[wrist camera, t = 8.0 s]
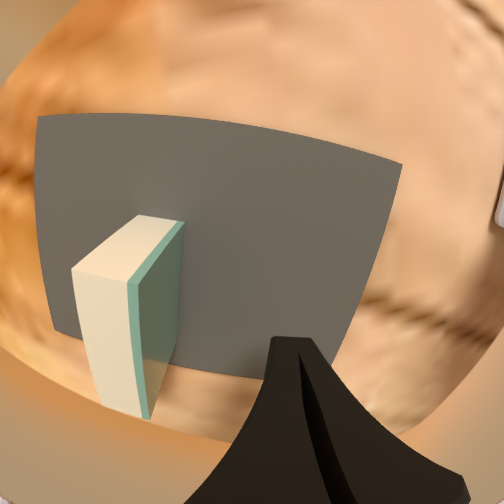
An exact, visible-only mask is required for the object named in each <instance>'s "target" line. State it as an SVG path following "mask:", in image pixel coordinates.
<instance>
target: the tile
mask: <svg viewBox="0 0 504 504" xmlns="http://www.w3.org/2000/svg"><path fill="white" fill-rule="evenodd" d="M184 226H185V222H181V221H175V220H168V219H162V218H156V217H149V216H143V215H137V216H136V217H135V218H133V219H132V220H131V221H129V222H128V223H127V224H126V225H124V226H123V227H122V228H120V229H119V230H118V231H116V232H115V233H114V234H113V235H111V236H110V237H109V238H108V239H106V240H105V241H104V242H103V243H101V244H100V245H99V246H98V247H97V248H95V249H94V250H93V251H92V252H90V253H89V254H88V255H87V256H86V257H85V258H83V259H82V260H81V261H80V262H79V263H78V264H76V265H75V266H74V267H73V268H72V269H71V271H72V279H73V286H74V293H75V300H76V306H77V311H78V317H79V322H80V327H81V332H82V336H83V341H84V345H85V349H86V353H87V357H88V361H89V365H90V368H91V372H92V375H93V379H94V382H95V385H96V389H97V392H98V395H99V398H100V401H101V404H102V406H105V407H108V408H111V409H114V410H117V411H120V412H123V413H127V414H130V415H133V416H137V417H140V418H144V419H148V420H150V419H151V415H152V412H153V409H154V406H155V403H156V400H157V397H158V394H159V391H160V388H161V384H162V381H163V378H164V375H165V373H166V370H167V367H168V364H169V361H170V358H171V355H172V352H173V349H174V346H175V343H176V341H177V326H178V304H179V287H180V272H181V259H182V247H183V236H184Z"/></svg>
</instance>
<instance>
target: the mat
mask: <svg viewBox="0 0 504 504" xmlns="http://www.w3.org/2000/svg"><path fill="white" fill-rule="evenodd" d="M402 165H403V164H400V163H397V162H394V161H391V160H388V159H385V158H382V157H379V156H376V155H373V154H370V153H366V152H363V151H360V150H356V149H353V148H349V147H346V146H342V145H338V144H335V143H331V142H327V141H323V140H319V139H315V138H311V137H306V136H302V135H297V134H293V133H288V132H283V131H278V130H273V129H268V128H262V127H257V126H251V125H245V124H238V123H232V122H225V121H217V120H209V119H200V118H191V117H180V116H168V115H152V114H127V113H88V114H64V115H49V116H38V121H37V131H36V145H35V171H34V187H35V213H36V227H37V237H38V246H39V254H40V261H41V268H42V274H43V280H44V285H45V291H46V296H47V300H48V305H49V309H50V313H51V318H52V322H53V325H54V329H55V330H56V331H58V332H61V333H64V334H67V335H69V336H72V337H75V338H78V339H81V340H83V336H82V332H81V327H80V322H79V317H78V311H77V306H76V300H75V293H74V286H73V279H72V271H71V269H72V268H73V267H74V266H75V265H76V264H78V263H79V262H80V261H81V260H82V259H83V258H85V257H86V256H87V255H88V254H89V253H90V252H92V251H93V250H94V249H95V248H97V247H98V246H99V245H100V244H101V243H103V242H104V241H105V240H106V239H108V238H109V237H110V236H111V235H113V234H114V233H115V232H116V231H118V230H119V229H120V228H122V227H123V226H124V225H126V224H127V223H128V222H129V221H131V220H132V219H133V218H135V217H136V216H137V215H143V216H149V217H156V218H162V219H168V220H175V221H181V222H185V226H184V236H183V247H182V259H181V272H180V287H179V304H178V326H177V341H176V343H175V346H174V349H173V352H172V355H171V358H170V361H169V364H173V365H177V366H182V367H187V368H192V369H197V370H203V371H209V372H214V373H220V374H227V375H233V376H240V377H248V378H256V379H264V373H265V368H266V363H267V357H268V352H269V346H270V341H271V338H272V337H274V336H286V337H307V338H312V340H313V341H314V342H315V344H316V345H317V347H318V348H319V350H320V351H321V353H322V354H323V356H324V357H325V359H326V360H327V362H328V363H329V364H330V366H331V365H332V363H333V361H334V358H335V356H336V354H337V352H338V350H339V348H340V346H341V343H342V341H343V339H344V337H345V335H346V332H347V330H348V328H349V325H350V323H351V321H352V318H353V316H354V314H355V311H356V309H357V306H358V304H359V301H360V299H361V296H362V294H363V291H364V288H365V286H366V283H367V281H368V278H369V275H370V272H371V270H372V267H373V264H374V261H375V258H376V255H377V252H378V249H379V246H380V243H381V240H382V237H383V234H384V231H385V228H386V224H387V221H388V218H389V214H390V211H391V208H392V204H393V200H394V197H395V193H396V189H397V185H398V181H399V177H400V173H401V169H402Z"/></svg>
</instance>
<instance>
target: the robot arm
mask: <svg viewBox="0 0 504 504" xmlns="http://www.w3.org/2000/svg"><path fill="white" fill-rule="evenodd" d="M495 223H496V224H497V225H498V226H500V227H502V228H504V181H503V186H502V190H501V194H500V198H499V202H498V206H497V209H496V213H495ZM470 500H471V498H470V495H469V492H468V489H467V487H466V484H465V482H464V479H463V477H462V476H461V475H459V474H457V473H455V472H453V471H450V470H448V469H446V468H444V467H442V466H440V465H438V464H436V463H434V462H432V461H431V460H429V459H427V458H426V457H424V456H422V455H421V454H419V453H417V452H416V451H414V450H413V449H412V448H410V447H409V446H407V445H406V444H405V443H403V442H402V441H401V440H400V439H398V438H397V437H396V436H394V435H393V434H392V433H391V432H389V431H388V430H387V429H386V428H385V427H384V426H382V425H381V424H380V423H379V422H378V421H377V420H376V419H375V418H374V417H373V416H372V415H371V414H370V413H369V412H368V411H367V410H366V409H365V408H364V407H363V406H362V405H361V404H360V402H359V401H358V400H357V399H356V398H355V397H354V396H353V394H352V393H351V392H350V391H349V390H348V388H347V387H346V386H345V385H344V383H343V382H342V381H341V379H340V378H339V377H338V375H337V374H336V373H335V371H334V370H333V369H332V367H331V366H330V364H329V363H328V362H327V360H326V359H325V357H324V356H323V354H322V353H321V351H320V350H319V348H318V347H317V345H316V344H315V342H314V341H313V340H312V338H307V337H286V336H274V337H272V338H271V341H270V346H269V352H268V357H267V363H266V368H265V373H264V381H263V384H262V387H261V389H260V391H259V394H258V396H257V399H256V401H255V403H254V406H253V408H252V410H251V412H250V414H249V416H248V418H247V420H246V421H245V423H244V425H243V427H242V429H241V430H240V432H239V434H238V435H237V437H236V439H235V440H234V442H233V443H232V445H231V446H230V448H229V450H228V451H227V453H226V454H225V455H224V457H223V458H222V459H221V461H220V462H219V463H218V465H217V466H216V467H215V469H214V470H213V471H212V472H211V474H210V475H209V476H208V478H207V479H206V480H205V481H204V482H203V483H202V485H201V486H200V487H199V488H198V489H197V490H196V491H195V492H194V493H193V494H192V495H191V497H190V498H189V499H188V500H187V501H186V502H185V503H184V504H469V502H470ZM0 504H15V503H13V502H11V501H10V500H8V499H6V498H5V497H4V496H2V495H1V494H0ZM497 504H504V499H502V500H501V501H500V502H498V503H497Z"/></svg>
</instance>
